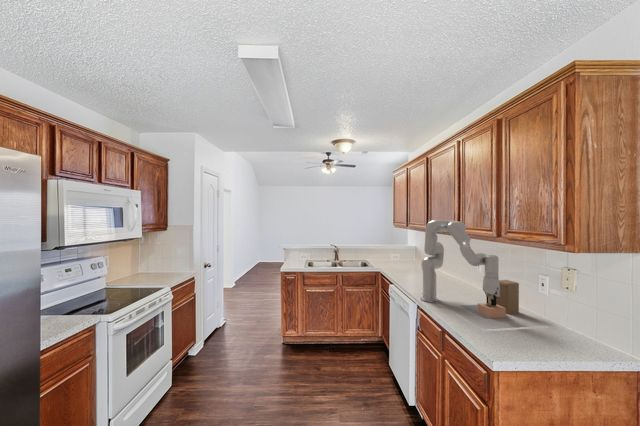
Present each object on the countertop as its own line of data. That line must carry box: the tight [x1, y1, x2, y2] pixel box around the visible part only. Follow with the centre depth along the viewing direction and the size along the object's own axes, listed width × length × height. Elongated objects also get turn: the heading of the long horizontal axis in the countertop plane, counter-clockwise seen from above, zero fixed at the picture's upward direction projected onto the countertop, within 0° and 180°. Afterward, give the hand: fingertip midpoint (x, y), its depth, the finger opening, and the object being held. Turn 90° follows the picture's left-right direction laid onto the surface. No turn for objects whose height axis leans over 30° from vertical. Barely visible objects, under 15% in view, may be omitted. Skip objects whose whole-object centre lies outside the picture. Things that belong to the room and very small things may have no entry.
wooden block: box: [496, 279, 520, 315], centre depth 197 cm, size 10×10×20 cm
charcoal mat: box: [459, 304, 510, 320], centre depth 197 cm, size 26×17×1 cm, turn 8°
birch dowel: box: [488, 293, 495, 308], centre depth 190 cm, size 4×4×10 cm
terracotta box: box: [477, 302, 507, 319], centre depth 190 cm, size 11×11×6 cm
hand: (491, 304), depth 190 cm, fingers closed on birch dowel, 3 cm apart
